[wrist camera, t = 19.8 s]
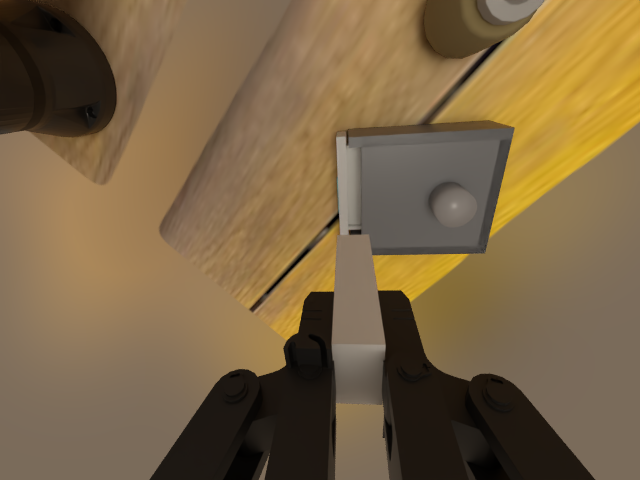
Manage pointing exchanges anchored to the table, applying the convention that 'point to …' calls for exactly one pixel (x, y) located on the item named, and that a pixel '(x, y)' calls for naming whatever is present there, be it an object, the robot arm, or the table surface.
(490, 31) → the squeeze bottle
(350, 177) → the tray
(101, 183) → the table surface
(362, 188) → the tray
